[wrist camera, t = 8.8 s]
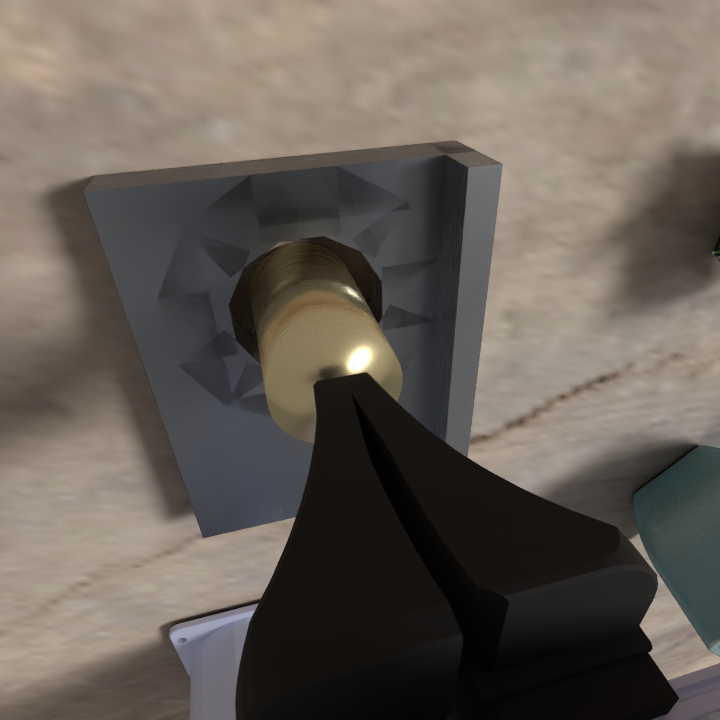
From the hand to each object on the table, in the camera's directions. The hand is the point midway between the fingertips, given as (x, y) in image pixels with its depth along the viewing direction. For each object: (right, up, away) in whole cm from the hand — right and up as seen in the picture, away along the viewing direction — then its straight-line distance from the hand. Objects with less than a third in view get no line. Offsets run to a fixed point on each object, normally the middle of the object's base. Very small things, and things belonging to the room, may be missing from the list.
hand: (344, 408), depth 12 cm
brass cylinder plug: (-2, +4, +5) cm, 7 cm away
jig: (-2, +1, +7) cm, 7 cm away
